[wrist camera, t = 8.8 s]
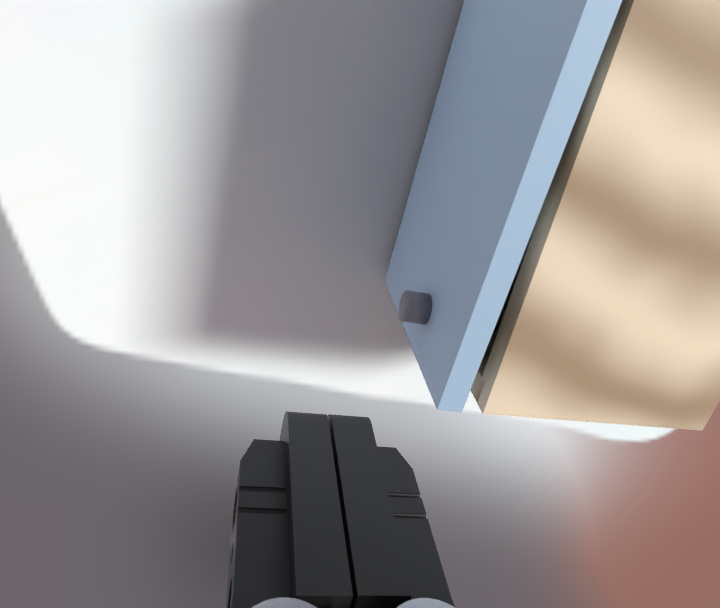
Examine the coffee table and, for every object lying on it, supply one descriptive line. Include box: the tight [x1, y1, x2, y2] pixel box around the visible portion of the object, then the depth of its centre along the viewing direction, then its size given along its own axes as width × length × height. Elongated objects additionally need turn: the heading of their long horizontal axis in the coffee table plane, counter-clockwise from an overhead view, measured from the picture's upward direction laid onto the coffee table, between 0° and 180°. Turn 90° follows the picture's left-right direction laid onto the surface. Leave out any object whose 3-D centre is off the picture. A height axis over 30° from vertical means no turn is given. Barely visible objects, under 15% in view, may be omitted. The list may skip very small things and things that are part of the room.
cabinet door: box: [385, 0, 622, 412], centre depth 28 cm, size 21×2×13 cm, turn 166°
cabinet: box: [471, 0, 720, 430], centre depth 30 cm, size 20×12×14 cm, turn 168°
